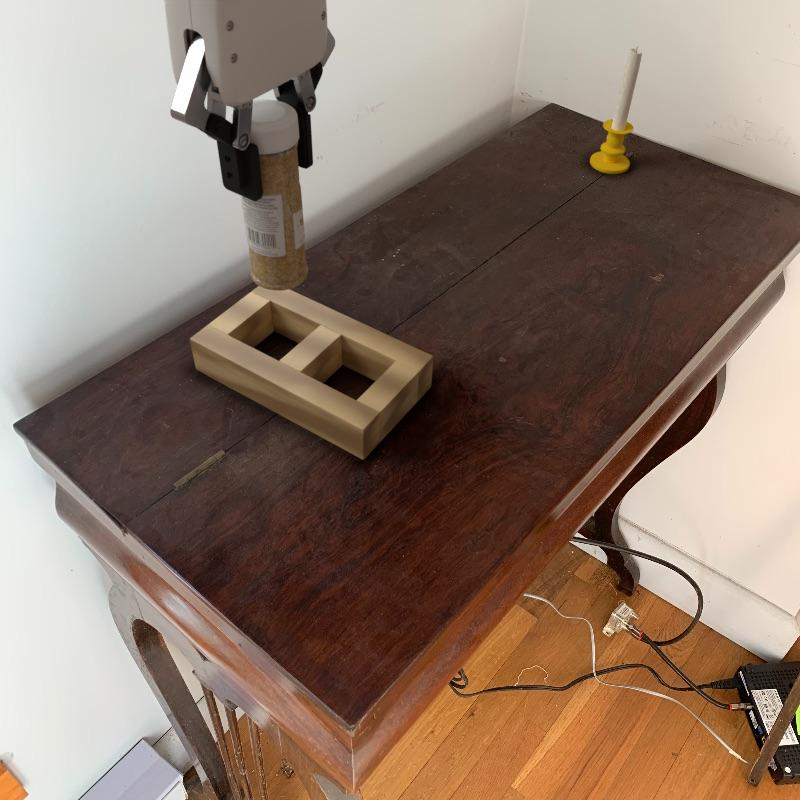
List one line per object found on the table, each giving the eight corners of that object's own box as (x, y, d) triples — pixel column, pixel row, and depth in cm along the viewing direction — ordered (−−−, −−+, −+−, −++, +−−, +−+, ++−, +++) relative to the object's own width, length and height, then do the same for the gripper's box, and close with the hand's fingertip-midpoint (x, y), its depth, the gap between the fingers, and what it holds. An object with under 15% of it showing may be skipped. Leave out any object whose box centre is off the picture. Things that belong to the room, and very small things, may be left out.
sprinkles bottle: (320, 275, 63) (311, 112, 54) (276, 301, 61) (259, 135, 51) (281, 251, 65) (266, 90, 56) (237, 275, 63) (214, 111, 53)
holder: (363, 460, 70) (363, 430, 67) (195, 369, 78) (189, 338, 75) (431, 386, 77) (433, 356, 74) (271, 309, 84) (267, 278, 81)
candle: (623, 154, 109) (652, 37, 98) (633, 174, 105) (664, 55, 94) (585, 154, 109) (610, 37, 98) (594, 174, 105) (621, 55, 94)
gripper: (288, -160, 50) (304, 117, 63) (68, -102, 40) (141, 212, 53) (385, -139, 47) (381, 146, 60) (175, -72, 37) (225, 252, 51)
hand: (269, 174), depth 57 cm, fingers closed on sprinkles bottle, 4 cm apart
